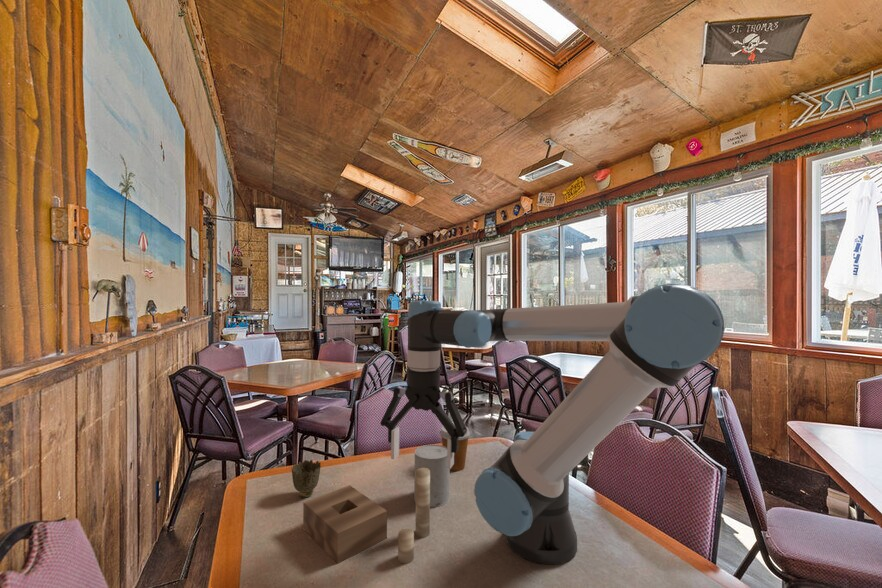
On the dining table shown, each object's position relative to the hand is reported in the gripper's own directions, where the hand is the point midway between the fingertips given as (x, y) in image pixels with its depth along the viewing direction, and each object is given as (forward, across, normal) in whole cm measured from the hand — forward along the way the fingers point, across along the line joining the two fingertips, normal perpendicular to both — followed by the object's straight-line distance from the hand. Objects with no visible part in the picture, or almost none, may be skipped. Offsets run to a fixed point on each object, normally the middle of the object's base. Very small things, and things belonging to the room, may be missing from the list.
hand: (422, 461), depth 87 cm
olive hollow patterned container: (+17, +35, -5) cm, 39 cm away
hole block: (+16, +16, +6) cm, 24 cm away
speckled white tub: (+16, +3, -15) cm, 22 cm away
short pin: (+16, 0, +9) cm, 18 cm away
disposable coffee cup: (+16, +3, -35) cm, 39 cm away
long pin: (+16, 0, 0) cm, 16 cm away
